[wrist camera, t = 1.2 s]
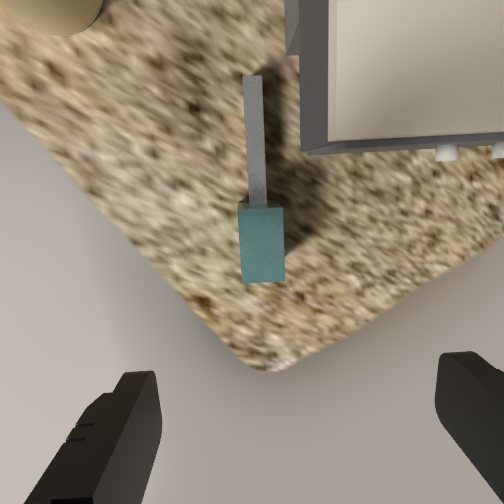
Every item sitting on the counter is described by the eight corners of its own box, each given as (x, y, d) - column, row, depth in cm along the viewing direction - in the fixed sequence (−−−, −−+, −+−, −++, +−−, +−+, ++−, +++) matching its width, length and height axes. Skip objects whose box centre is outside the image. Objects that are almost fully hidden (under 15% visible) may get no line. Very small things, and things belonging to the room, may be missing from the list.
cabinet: (277, -22, 26) (342, -371, 9) (489, -32, 26) (932, -391, 9) (282, 167, 29) (335, 168, 13) (467, 157, 30) (756, 144, 13)
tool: (230, 84, 28) (228, 64, 22) (271, 82, 28) (278, 62, 22) (242, 263, 32) (242, 283, 26) (278, 261, 32) (285, 281, 26)
